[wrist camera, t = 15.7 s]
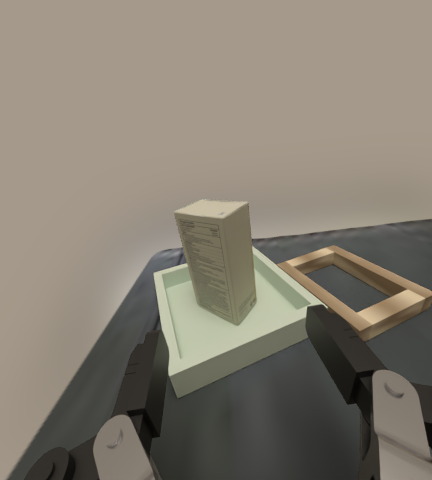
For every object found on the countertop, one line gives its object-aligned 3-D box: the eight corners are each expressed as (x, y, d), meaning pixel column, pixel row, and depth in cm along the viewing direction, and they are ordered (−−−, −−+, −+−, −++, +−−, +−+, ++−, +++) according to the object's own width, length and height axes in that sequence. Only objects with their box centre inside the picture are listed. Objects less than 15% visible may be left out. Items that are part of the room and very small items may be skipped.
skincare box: (257, 301, 24) (252, 201, 19) (237, 328, 21) (224, 218, 16) (216, 285, 28) (202, 197, 23) (193, 305, 25) (171, 210, 20)
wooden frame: (332, 256, 31) (333, 245, 30) (429, 308, 21) (435, 293, 20) (276, 276, 29) (276, 264, 28) (355, 346, 18) (359, 330, 18)
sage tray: (251, 260, 33) (250, 244, 32) (324, 329, 20) (328, 307, 19) (159, 290, 29) (153, 273, 28) (177, 398, 16) (169, 376, 15)
